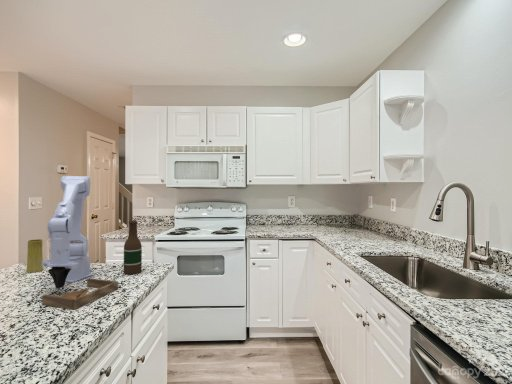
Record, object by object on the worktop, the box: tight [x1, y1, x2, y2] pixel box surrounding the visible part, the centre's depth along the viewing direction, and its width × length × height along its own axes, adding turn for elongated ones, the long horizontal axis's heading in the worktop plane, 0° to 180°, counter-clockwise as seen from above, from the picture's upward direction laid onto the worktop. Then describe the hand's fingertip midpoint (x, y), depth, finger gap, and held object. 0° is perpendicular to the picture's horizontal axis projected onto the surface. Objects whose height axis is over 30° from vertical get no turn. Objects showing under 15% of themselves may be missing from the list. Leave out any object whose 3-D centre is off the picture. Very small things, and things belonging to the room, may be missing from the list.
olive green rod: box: [25, 238, 44, 274], centre depth 122 cm, size 6×6×14 cm
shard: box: [58, 287, 90, 299], centre depth 92 cm, size 11×8×2 cm
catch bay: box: [41, 277, 119, 310], centre depth 93 cm, size 18×14×3 cm
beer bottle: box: [123, 219, 143, 276], centre depth 121 cm, size 8×8×24 cm
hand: (59, 287), depth 96 cm, fingers closed
